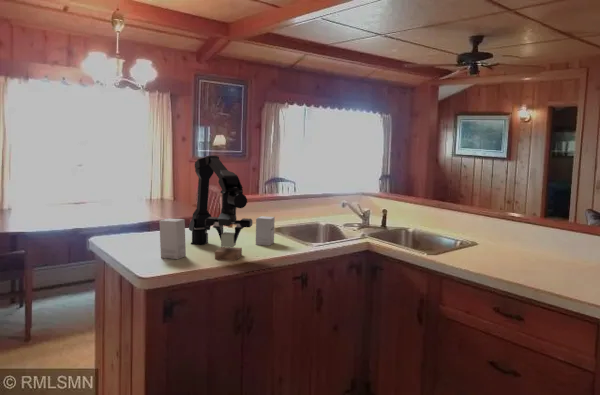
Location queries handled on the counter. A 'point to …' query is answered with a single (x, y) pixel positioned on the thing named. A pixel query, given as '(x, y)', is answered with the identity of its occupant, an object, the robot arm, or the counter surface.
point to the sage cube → (227, 239)
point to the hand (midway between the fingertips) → (228, 242)
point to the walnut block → (228, 253)
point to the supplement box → (265, 230)
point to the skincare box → (172, 238)
